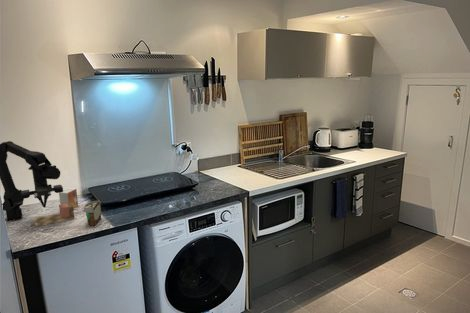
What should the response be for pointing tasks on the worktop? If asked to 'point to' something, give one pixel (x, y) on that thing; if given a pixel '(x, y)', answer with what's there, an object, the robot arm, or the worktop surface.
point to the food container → (93, 212)
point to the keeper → (64, 210)
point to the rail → (54, 217)
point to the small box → (69, 197)
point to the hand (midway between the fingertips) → (44, 207)
